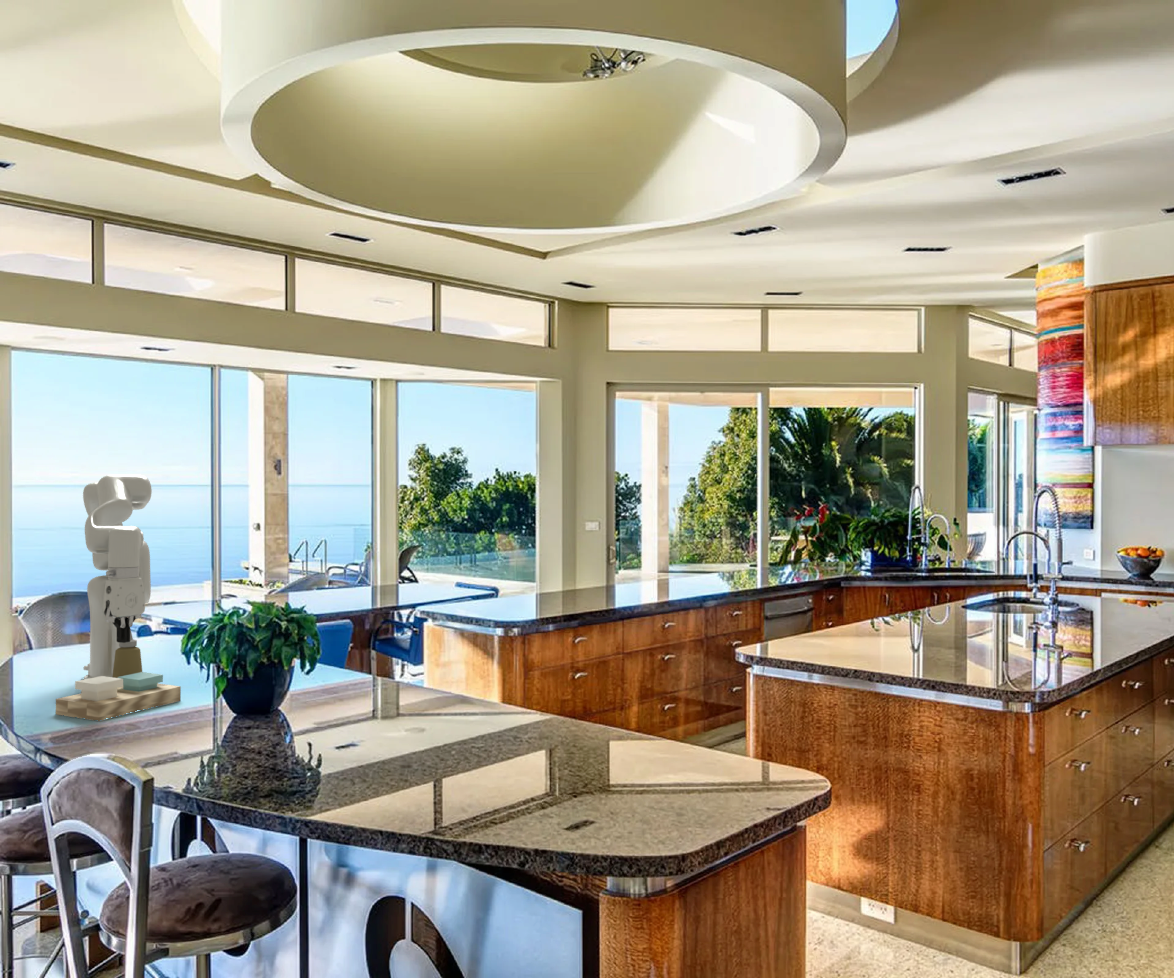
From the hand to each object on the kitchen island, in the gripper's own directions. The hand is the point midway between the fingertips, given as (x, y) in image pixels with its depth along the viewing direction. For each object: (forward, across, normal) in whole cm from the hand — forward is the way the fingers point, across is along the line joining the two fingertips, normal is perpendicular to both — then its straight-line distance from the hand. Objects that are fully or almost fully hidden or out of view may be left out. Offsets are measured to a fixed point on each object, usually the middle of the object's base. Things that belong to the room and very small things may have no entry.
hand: (123, 641), depth 264 cm
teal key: (+15, +6, 0) cm, 16 cm away
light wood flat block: (+18, 0, 0) cm, 18 cm away
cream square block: (+14, -7, 0) cm, 16 cm away
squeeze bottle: (+18, +16, +16) cm, 29 cm away
